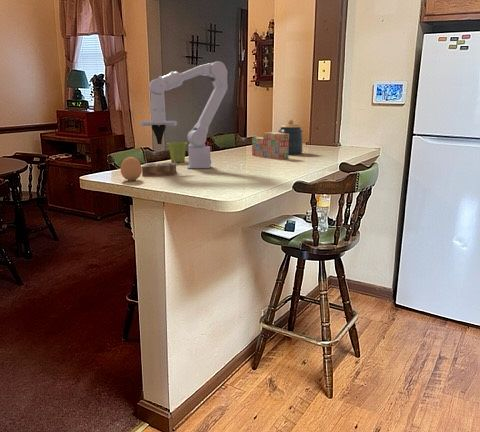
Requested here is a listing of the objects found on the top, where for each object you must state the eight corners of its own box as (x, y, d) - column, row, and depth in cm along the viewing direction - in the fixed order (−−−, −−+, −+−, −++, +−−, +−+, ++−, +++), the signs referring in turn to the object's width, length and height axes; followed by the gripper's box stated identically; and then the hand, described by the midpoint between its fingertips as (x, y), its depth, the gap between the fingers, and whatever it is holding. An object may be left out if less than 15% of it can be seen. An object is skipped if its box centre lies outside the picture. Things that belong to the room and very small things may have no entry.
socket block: (176, 171, 189) (175, 162, 189) (174, 175, 180) (173, 165, 179) (146, 171, 189) (145, 162, 188) (142, 175, 179) (141, 166, 178)
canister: (303, 154, 244) (304, 120, 240) (278, 154, 245) (279, 120, 240) (301, 152, 257) (301, 119, 253) (277, 152, 257) (277, 119, 253)
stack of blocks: (251, 155, 242) (251, 131, 239) (261, 155, 246) (261, 131, 243) (279, 159, 225) (279, 133, 222) (288, 158, 229) (289, 133, 226)
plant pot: (163, 162, 217) (162, 143, 215) (174, 160, 225) (173, 141, 223) (181, 163, 213) (181, 144, 211) (191, 161, 222) (190, 142, 220)
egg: (123, 183, 164) (121, 158, 162) (119, 179, 170) (118, 156, 168) (144, 181, 167) (143, 157, 165) (139, 178, 173) (138, 155, 171)
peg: (170, 171, 186) (170, 162, 186) (169, 173, 182) (169, 164, 182) (160, 171, 186) (159, 162, 185) (159, 173, 182) (158, 164, 181)
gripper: (177, 109, 194) (178, 142, 198) (141, 109, 194) (143, 143, 197) (175, 110, 188) (176, 144, 191) (138, 110, 187) (140, 144, 190)
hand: (159, 143), depth 193 cm, fingers closed
